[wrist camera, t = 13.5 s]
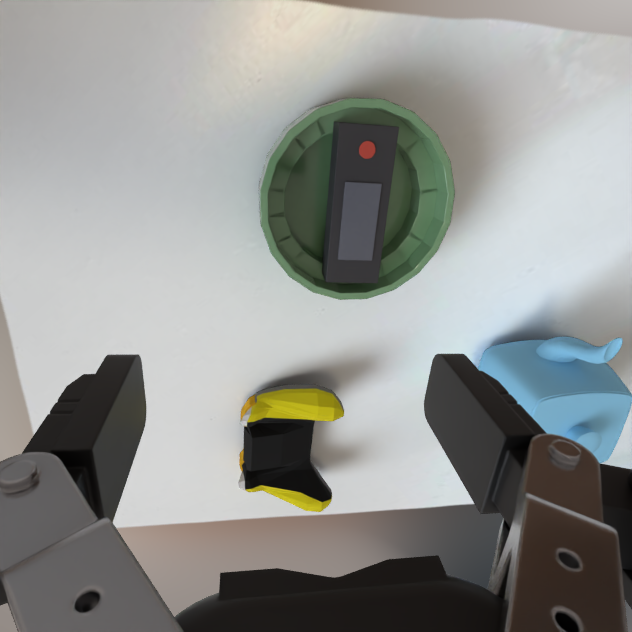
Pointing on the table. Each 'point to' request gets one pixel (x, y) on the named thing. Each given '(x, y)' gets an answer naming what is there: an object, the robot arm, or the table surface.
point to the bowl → (312, 194)
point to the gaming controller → (286, 443)
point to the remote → (358, 201)
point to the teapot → (565, 388)
